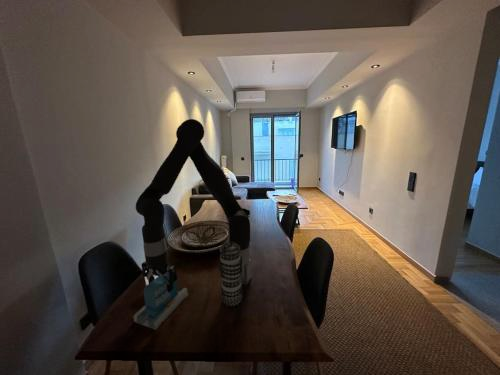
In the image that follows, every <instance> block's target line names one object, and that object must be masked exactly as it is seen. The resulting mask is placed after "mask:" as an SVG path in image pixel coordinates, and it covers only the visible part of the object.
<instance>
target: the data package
mask: <svg viewBox="0 0 500 375" xmlns="http://www.w3.org/2000/svg"><path fill="white" fill-rule="evenodd" d="M166 275H167V273H165V274H164V276H166ZM173 278H174V277H173ZM167 279H168V280H169V277H167ZM173 286H174V289H173V290H172V291H171V292H170V293H169V292H168V291H167V283H166V282H165V280H162V278H161V277H159V276H158V277H157V278H156V279H154V280H153V281H152V282H150V283H149V284H148V285H145V287H144V289H143V298H144V306H145V305H146V312H147V314H149V315H151V316H154V317H156V316H157V315H158V314H159V313H160V312H161V311H162V310H163V309H164V308H165V307H166V305H167V304H168V303H169V302H170V301H171V300H173V299H174V298H175V297H176V296H177V295H178V291H179V289H178V279H177V280H176V281H175V282H174V283H173Z"/></svg>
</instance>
